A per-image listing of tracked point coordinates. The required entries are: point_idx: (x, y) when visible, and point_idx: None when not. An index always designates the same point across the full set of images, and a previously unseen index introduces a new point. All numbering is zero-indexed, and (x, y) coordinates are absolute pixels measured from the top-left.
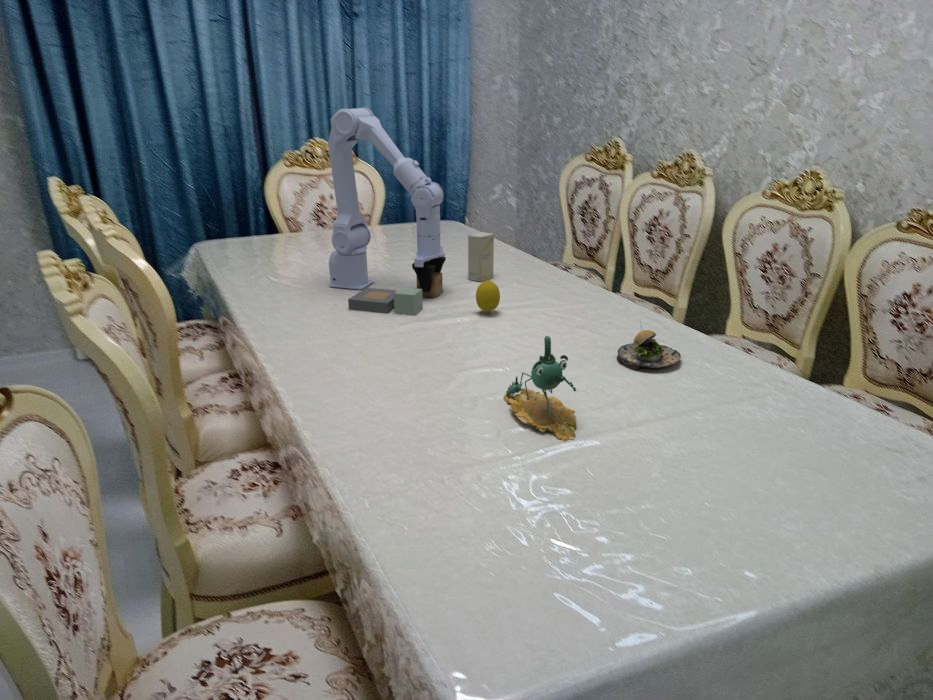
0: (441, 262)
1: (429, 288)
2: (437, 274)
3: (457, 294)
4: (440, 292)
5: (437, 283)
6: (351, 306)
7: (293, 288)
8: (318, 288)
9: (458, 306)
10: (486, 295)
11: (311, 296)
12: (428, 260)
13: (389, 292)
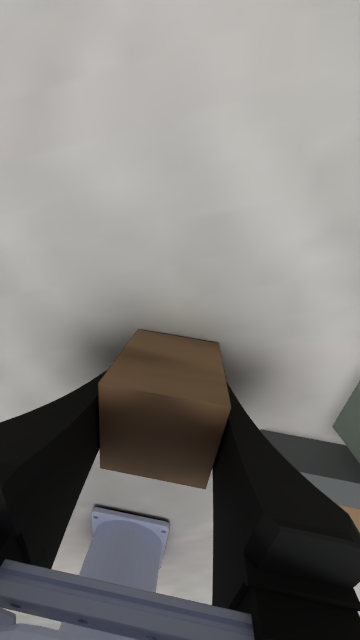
0: (42, 457)
1: (230, 390)
2: (146, 404)
3: (150, 261)
4: (162, 335)
5: (196, 371)
6: None
7: (179, 595)
8: (171, 572)
9: (349, 218)
10: None
11: None
12: (175, 609)
13: None
